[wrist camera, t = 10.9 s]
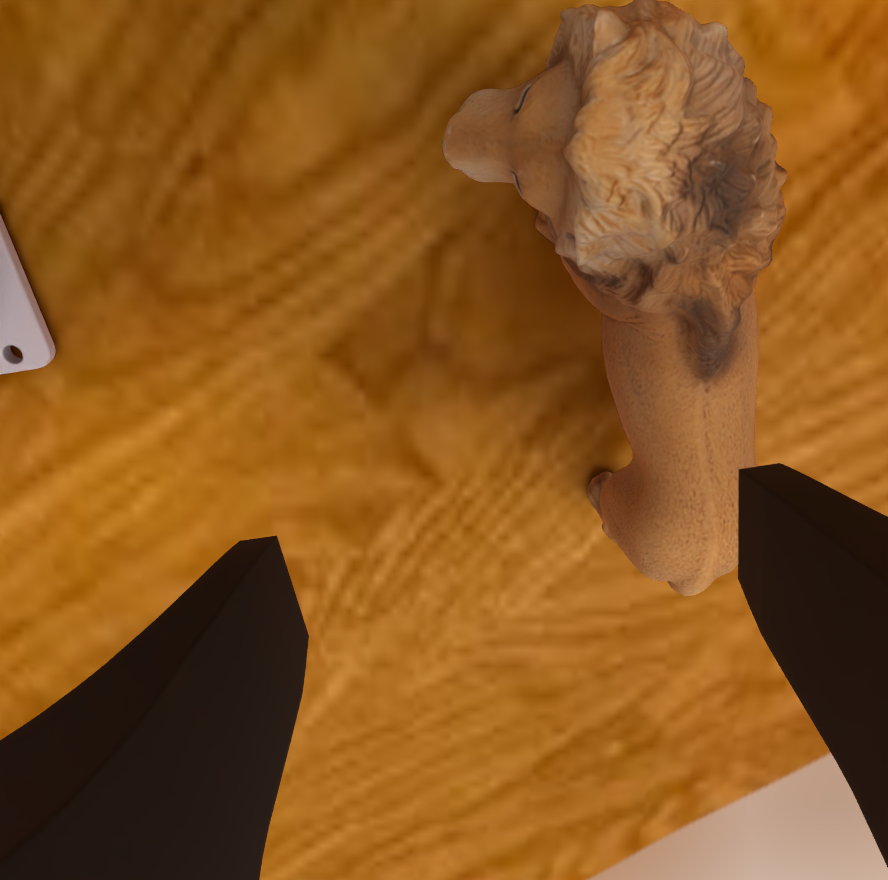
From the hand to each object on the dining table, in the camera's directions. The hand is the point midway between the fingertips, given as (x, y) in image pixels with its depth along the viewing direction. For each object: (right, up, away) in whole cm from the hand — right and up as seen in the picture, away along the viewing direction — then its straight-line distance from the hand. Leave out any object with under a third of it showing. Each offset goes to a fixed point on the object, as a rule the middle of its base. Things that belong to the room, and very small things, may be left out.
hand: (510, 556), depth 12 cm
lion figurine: (+3, +6, +8) cm, 11 cm away
